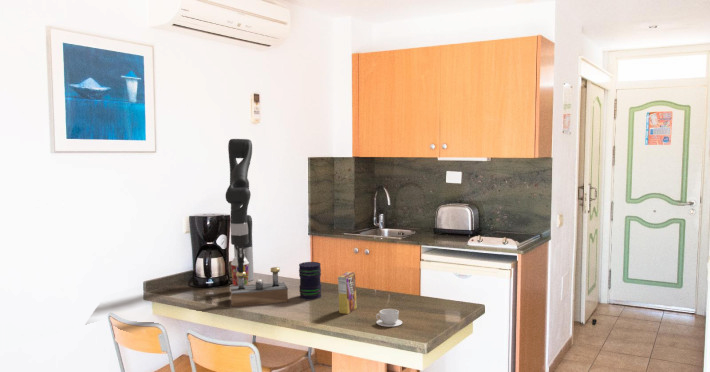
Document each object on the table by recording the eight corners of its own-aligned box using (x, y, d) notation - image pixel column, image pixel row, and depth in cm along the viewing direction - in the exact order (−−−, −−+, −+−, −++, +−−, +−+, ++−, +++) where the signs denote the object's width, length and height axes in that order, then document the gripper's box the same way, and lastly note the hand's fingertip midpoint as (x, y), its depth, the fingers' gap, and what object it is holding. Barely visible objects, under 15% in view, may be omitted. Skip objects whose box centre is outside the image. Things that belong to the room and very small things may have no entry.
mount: (231, 299, 257) (230, 286, 257) (284, 294, 263) (284, 281, 262) (232, 306, 245) (231, 292, 245) (287, 301, 251) (287, 288, 251)
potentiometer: (255, 288, 251) (255, 279, 251) (262, 288, 252) (262, 279, 252) (256, 290, 248) (255, 281, 248) (263, 289, 249) (262, 280, 249)
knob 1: (236, 292, 253) (236, 271, 253) (245, 291, 254) (245, 270, 254) (237, 294, 250) (236, 273, 249) (246, 293, 251) (245, 272, 250)
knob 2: (270, 287, 257) (270, 267, 256) (279, 286, 258) (279, 266, 257) (271, 289, 253) (271, 269, 252) (280, 289, 254) (280, 268, 253)
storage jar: (323, 293, 263) (322, 261, 262) (319, 299, 253) (319, 266, 252) (301, 293, 264) (301, 261, 263) (297, 299, 254) (296, 266, 253)
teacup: (400, 319, 224) (400, 307, 224) (403, 327, 214) (403, 315, 214) (375, 319, 224) (375, 308, 224) (377, 328, 214) (377, 315, 214)
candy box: (347, 307, 241) (346, 271, 240) (356, 308, 239) (356, 272, 238) (338, 313, 233) (337, 276, 232) (347, 314, 231) (347, 277, 230)
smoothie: (247, 293, 266) (246, 251, 264) (230, 294, 266) (228, 251, 264) (251, 289, 274) (250, 247, 272) (234, 289, 274) (232, 248, 273)
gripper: (230, 231, 255) (231, 269, 257) (231, 235, 243) (232, 276, 244) (247, 230, 257) (248, 268, 259) (249, 234, 244) (250, 274, 246)
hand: (240, 272), depth 251 cm, fingers closed
